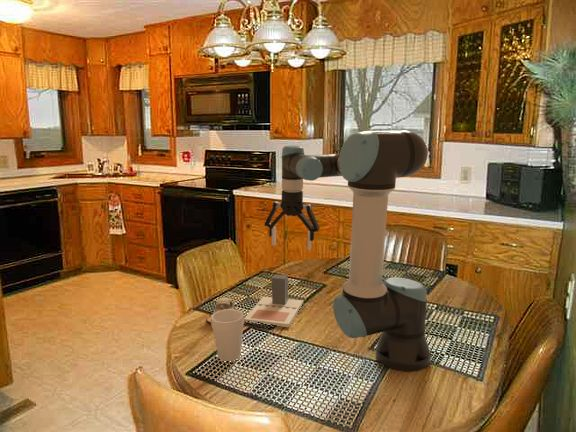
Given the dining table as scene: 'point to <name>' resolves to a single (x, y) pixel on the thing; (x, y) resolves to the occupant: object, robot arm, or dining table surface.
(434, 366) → the dining table surface
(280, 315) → the white flat piece
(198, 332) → the dining table surface
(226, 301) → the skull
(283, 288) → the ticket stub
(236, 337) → the foam cup
